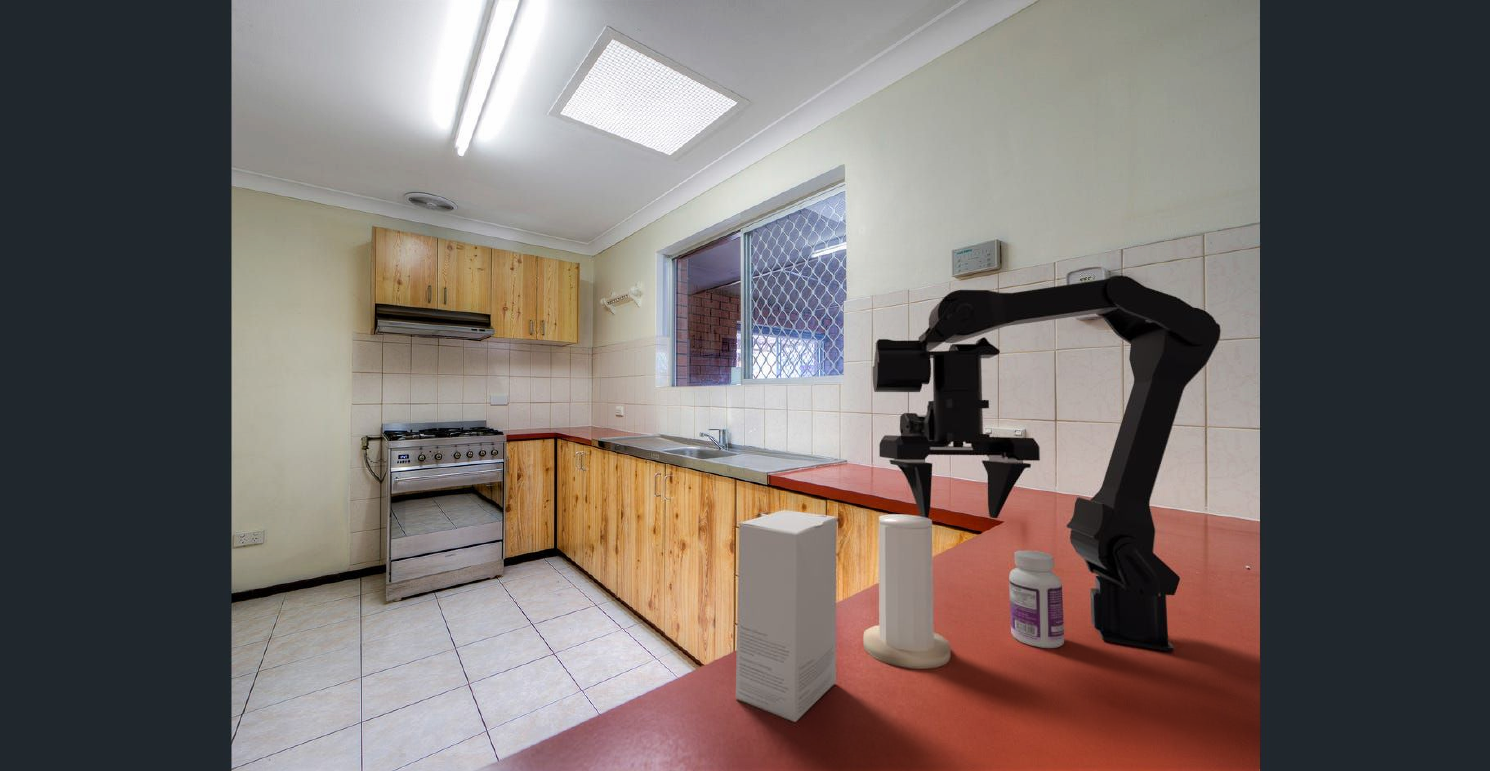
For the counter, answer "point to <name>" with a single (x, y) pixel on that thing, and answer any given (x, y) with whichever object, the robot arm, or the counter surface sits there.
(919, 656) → the post base
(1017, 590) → the pill bottle
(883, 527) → the white plastic canister
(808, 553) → the skincare box
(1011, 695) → the counter surface
